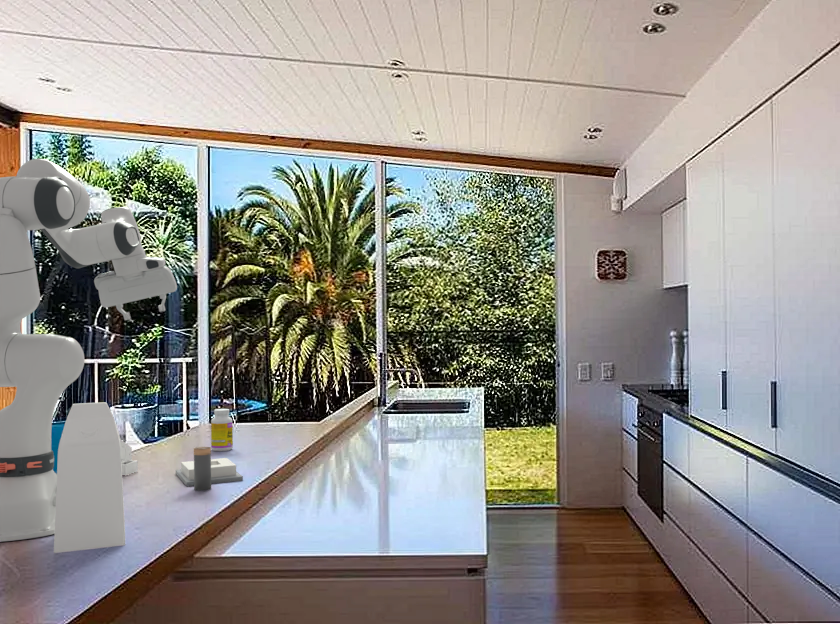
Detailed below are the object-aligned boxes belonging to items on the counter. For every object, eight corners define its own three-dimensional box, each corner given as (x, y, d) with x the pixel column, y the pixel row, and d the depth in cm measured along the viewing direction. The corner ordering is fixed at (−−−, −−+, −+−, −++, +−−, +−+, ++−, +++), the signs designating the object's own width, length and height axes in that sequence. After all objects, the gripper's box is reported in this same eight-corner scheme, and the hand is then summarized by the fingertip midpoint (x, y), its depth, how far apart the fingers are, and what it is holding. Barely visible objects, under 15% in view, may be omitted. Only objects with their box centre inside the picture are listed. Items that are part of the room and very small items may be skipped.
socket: (242, 480, 198) (242, 466, 199) (186, 486, 192) (186, 472, 192) (227, 468, 215) (227, 455, 215) (175, 473, 209) (175, 460, 209)
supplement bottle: (229, 451, 242) (229, 410, 242) (208, 451, 242) (208, 410, 242) (235, 448, 249) (234, 408, 249) (214, 448, 249) (214, 408, 249)
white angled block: (103, 469, 203) (113, 438, 207) (123, 481, 211) (131, 451, 216) (116, 470, 202) (125, 438, 206) (135, 482, 211) (143, 451, 215)
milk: (125, 529, 153) (123, 398, 154) (125, 545, 143) (123, 404, 143) (58, 536, 149) (57, 402, 149) (53, 553, 138) (52, 408, 139)
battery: (212, 489, 188) (212, 448, 188) (195, 491, 186) (195, 450, 186) (209, 486, 192) (209, 446, 192) (192, 488, 190) (192, 447, 190)
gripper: (89, 276, 205) (104, 326, 208) (167, 259, 209) (181, 308, 211) (94, 274, 211) (108, 322, 214) (169, 257, 215) (183, 304, 217)
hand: (145, 315), depth 213 cm, fingers open, 8 cm apart
